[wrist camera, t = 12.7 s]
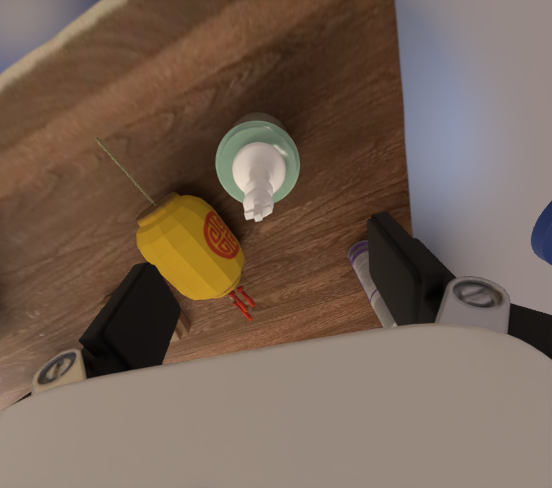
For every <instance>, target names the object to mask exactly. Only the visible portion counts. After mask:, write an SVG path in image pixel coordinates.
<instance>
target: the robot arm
mask: <svg viewBox="0 0 552 488" xmlns="http://www.w3.org/2000/svg"><path fill="white" fill-rule="evenodd" d="M367 229H368V255H369V273H370V276H371V279H372V280H373V282H374V284H375V286H376V288H377V290H378V291H379V293H380V295H381V297H382V299H383V301H384V302H385V304H386V306H387V308H388V310H389V312H390V313H391V315H392V317H393V319H394V321H395V323H396V324H397V326H395V327H387V328H379V329H372V330H366V331H360V332H353V333H347V334H340V335H334V336H328V337H322V338H316V339H310V340H304V341H298V342H292V343H286V344H280V345H274V346H268V347H262V348H256V349H250V350H244V351H239V352H233V353H227V354H221V355H215V356H210V357H204V358H198V359H192V360H187V361H181V362H175V363H170V364H164V365H162V362H163V360H164V357H165V354H166V352H167V349H168V347H169V344H170V341H171V339H172V336H173V333H174V331H175V328H176V325H177V323H178V320H179V317H180V315H181V308H180V306H179V304H178V302H177V301H176V299H175V297H174V295H173V294H172V292H171V290H170V289H169V287H168V285H167V284H166V282H165V280H164V279H163V277H162V275H161V274H160V272H159V270H158V268H157V267H156V266H155V265H154V264H151V263H150V262H146V263H141V264H137V265H134V266H133V268H132V269H131V270H130V272H129V273H128V274H127V276H126V277H125V279H124V280H123V281H122V283H121V284H120V285H119V287H118V288H117V289H116V291H115V292H114V293H113V295H112V296H111V297H110V299H109V300H108V301H107V303H106V304H105V306H104V307H103V308H102V310H101V311H100V312H99V314H98V315H97V316H96V318H95V319H94V320H93V322H92V323H91V324H90V326H89V327H88V329H87V330H86V331H85V333H84V334H83V335H82V337H81V338H80V339H79V342H80V343H81V344H82V345H83V346H84V347H83V349H82V350H81V351H80V350H79V349H77V348H71V349H68V350H65V351H62V352H61V353H59V354H57V355H55V356H54V357H52V358H51V359H50V360H48V361H47V362H46V363H45V364H44V365H43V366H42V367H41V368H40V369H39V370H38V371H37V373H36V374H35V376H34V378H33V380H32V387H31V392H30V393H28V394H27V395H25V396H24V397H23V398H21V399H20V400H18V401H17V402H15V403H14V404H13V405H11V406H9V407H8V408H6V409H4V410H2V411H1V412H0V488H552V315H549V314H546V313H543V312H539V311H536V310H532V309H529V308H525V307H522V306H518V305H515V304H511V303H510V297H509V294H508V293H507V292H506V291H505V289H503V288H502V287H501V286H499V285H498V284H496V283H494V282H492V281H490V280H487V279H484V278H480V277H473V276H468V277H467V276H464V277H459V278H456V277H455V276H454V275H453V274H452V273H451V272H450V271H449V270H448V269H447V268H446V267H445V266H444V265H443V264H442V263H441V262H440V261H439V260H438V259H437V258H436V257H435V256H434V255H433V254H432V253H431V252H430V251H429V250H428V249H427V248H426V247H425V246H424V245H423V244H422V243H421V242H420V240H418V239H416V238H412V237H411V236H410V235H409V234H408V233H407V232H406V231H405V230H404V229H403V228H402V227H401V226H400V224H399V223H398V222H397V221H396V220H395V219H394V218H393V217H392V216H391V215H390V214H389V213H388V212H383V213H378V214H373V215H372V217H371V219H368V220H367Z"/></svg>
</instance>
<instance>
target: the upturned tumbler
mask: <svg viewBox="0 0 552 488" xmlns="http://www.w3.org/2000/svg"><path fill="white" fill-rule="evenodd" d="M254 142H263V143H267V144H270V145H272V146H273V147H275V148H276V149H277V150H278V151H279V152H280V153H281V155H282V156H283V158H284V161H285V165H286V175H285V179H284V182H283V184H282V185H281V187H280V188H279V189H278V190H277V191H276V192H275V193H273V196H272V198H273V202H274V203H275V202H278V201H279V200H281V199H283V198H284V197H285V196H286V195H287V194H288V193H289V192H290V191H291V190H292V188H293V187H294V185H295V183H296V181H297V179H298V175H299V170H300V158H299V153H298V150H297V148H296V145H295V143H294V142H293V140H292V138H291V136H290V135H289V133H288V131H287V129H286V128H285V126H284V125H283V124H282V123H281V122H280V121H279V120H278V119H277V118H275V117H273V116H272V115H269V114H266V113H260V112H254V113H249V114H246V115H244V116H242V117H241V118H239V119H238V120H237V121H236V122H235V123H234V124H233V125H232V126H231V128H230V129H229V131H228V132H227V133H226V135H225V136H224V137H223V139H222V141H221V142H220V144H219V147H218V149H217V153H216V160H215V161H216V172H217V175H218V178H219V181H220V183H221V184H222V186H223V187H224V189H225V190H226V191H227V192H228V193H229V194H230V195H231V196H232V197H233V198H235V199H236V200H238V201H240V202H242V203H243V201H244V198H245V193H244V192H243V191H242V190H241V189H240V188H239V187H238V186H237V184H236V182H235V180H234V177H233V172H232V165H233V161H234V158H235V156H236V154H237V153H238V151H239V150H240V149H241V148H243V147H244V146H246V145H248V144H250V143H254Z"/></svg>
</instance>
